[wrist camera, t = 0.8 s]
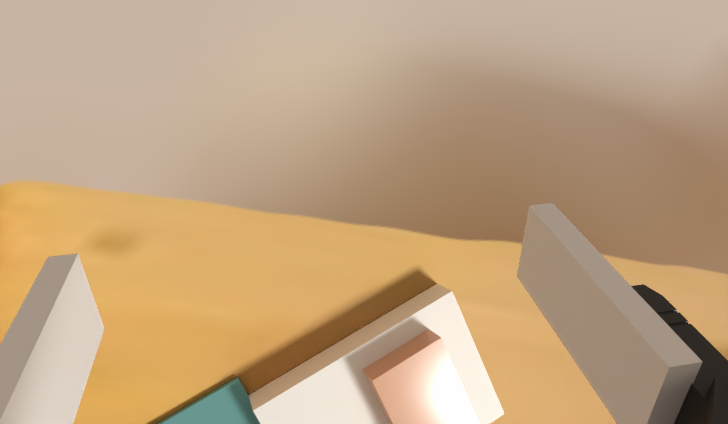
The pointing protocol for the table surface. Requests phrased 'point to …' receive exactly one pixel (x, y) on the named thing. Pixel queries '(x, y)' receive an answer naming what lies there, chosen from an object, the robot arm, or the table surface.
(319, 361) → the panel
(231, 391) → the mat
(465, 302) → the table surface
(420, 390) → the tile
